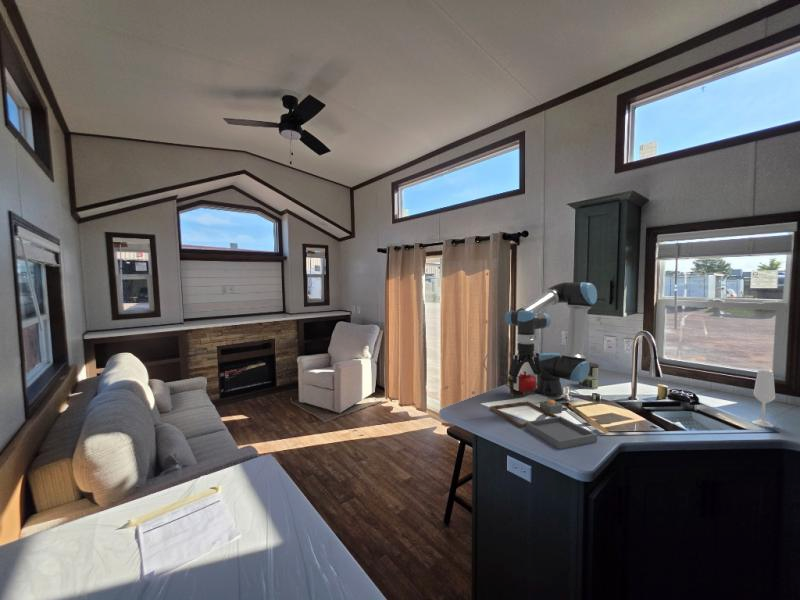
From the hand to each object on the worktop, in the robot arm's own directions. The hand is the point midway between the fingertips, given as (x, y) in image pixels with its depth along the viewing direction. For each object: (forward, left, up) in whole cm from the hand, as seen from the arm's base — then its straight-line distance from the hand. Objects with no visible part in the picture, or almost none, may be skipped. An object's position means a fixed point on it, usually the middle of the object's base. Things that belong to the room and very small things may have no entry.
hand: (525, 388), depth 158 cm
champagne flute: (-96, +43, -13) cm, 106 cm away
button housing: (-16, 0, -13) cm, 20 cm away
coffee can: (-68, -24, -13) cm, 73 cm away
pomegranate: (0, 0, -1) cm, 1 cm away
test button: (-16, 0, -12) cm, 19 cm away
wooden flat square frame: (0, 0, -13) cm, 13 cm away
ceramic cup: (-14, -25, -13) cm, 31 cm away
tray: (0, +22, -13) cm, 26 cm away
